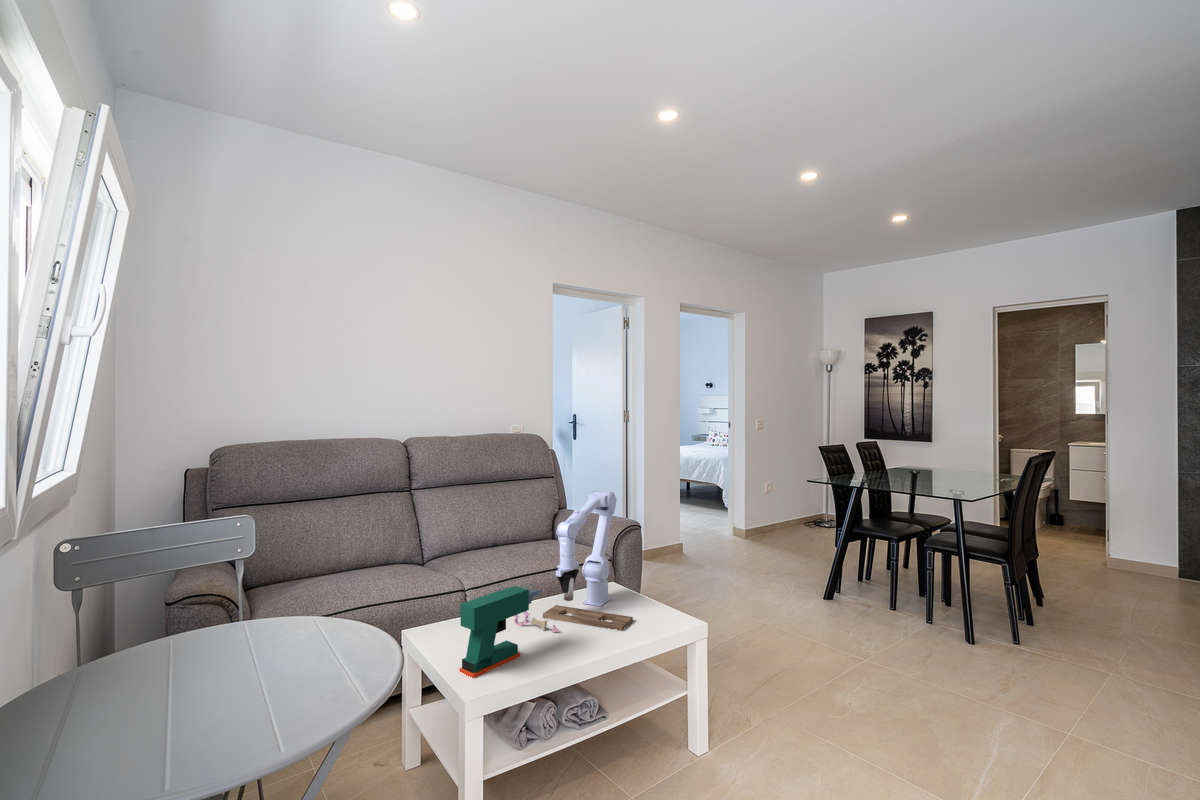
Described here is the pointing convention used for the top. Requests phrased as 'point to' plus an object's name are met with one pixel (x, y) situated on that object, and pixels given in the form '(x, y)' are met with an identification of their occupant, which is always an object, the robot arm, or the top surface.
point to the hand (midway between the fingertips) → (567, 590)
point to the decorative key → (535, 622)
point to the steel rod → (569, 591)
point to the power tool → (491, 628)
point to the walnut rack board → (588, 617)
